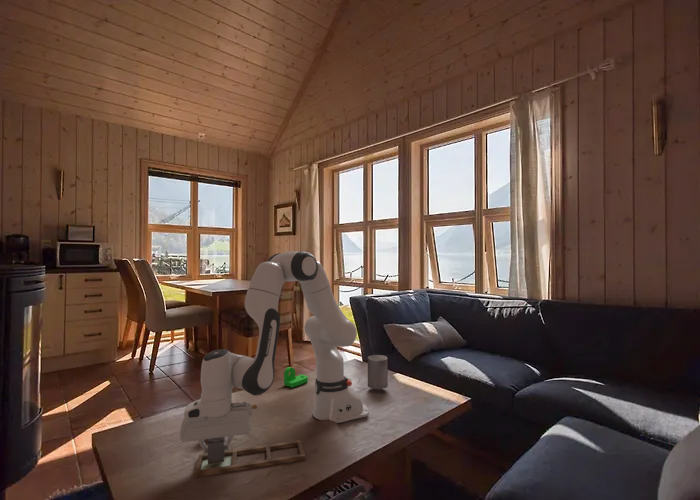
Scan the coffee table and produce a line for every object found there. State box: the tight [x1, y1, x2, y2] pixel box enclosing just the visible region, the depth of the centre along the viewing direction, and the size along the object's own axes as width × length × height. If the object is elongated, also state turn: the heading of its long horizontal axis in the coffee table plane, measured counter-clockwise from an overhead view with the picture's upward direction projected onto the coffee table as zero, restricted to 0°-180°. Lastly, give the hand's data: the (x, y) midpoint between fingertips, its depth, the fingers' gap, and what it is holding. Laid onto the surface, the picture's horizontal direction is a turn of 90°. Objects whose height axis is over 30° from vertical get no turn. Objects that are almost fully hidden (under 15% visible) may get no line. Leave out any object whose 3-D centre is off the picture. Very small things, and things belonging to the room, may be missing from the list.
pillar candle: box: [367, 354, 389, 390], centre depth 175 cm, size 10×10×15 cm
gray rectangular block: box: [207, 437, 226, 464], centre depth 110 cm, size 4×4×6 cm
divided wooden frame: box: [193, 439, 306, 478], centre depth 112 cm, size 32×10×1 cm, turn 106°
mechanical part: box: [283, 366, 309, 389], centre depth 180 cm, size 12×6×8 cm, turn 140°
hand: (216, 451), depth 110 cm, fingers closed on gray rectangular block, 4 cm apart
